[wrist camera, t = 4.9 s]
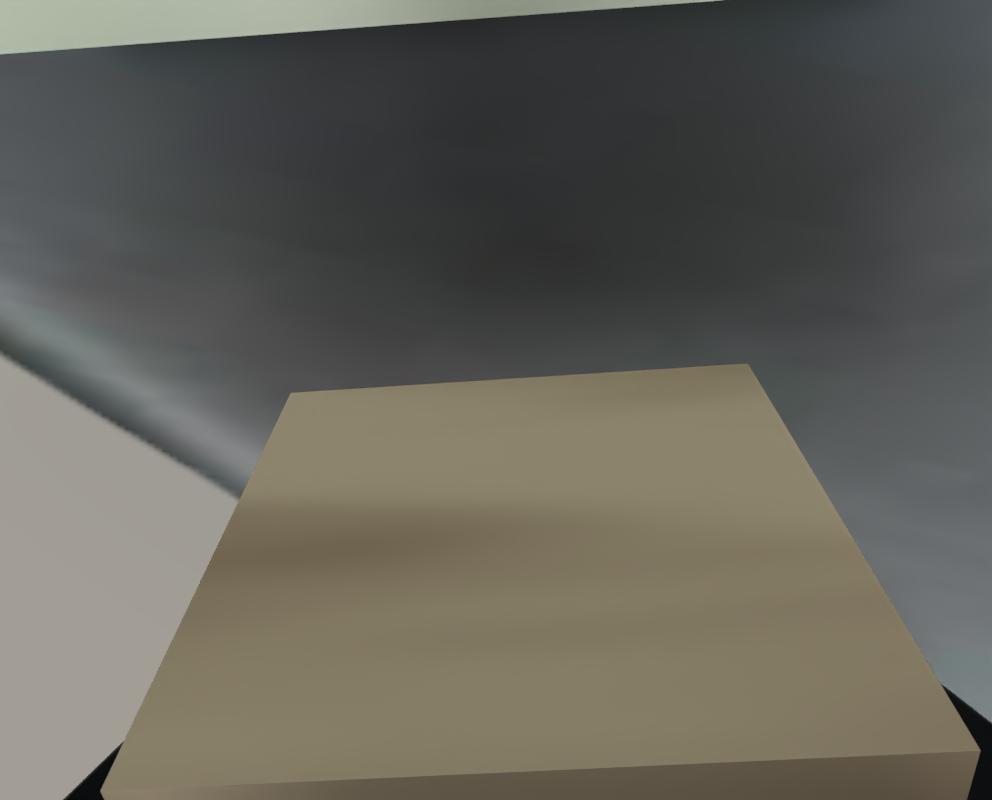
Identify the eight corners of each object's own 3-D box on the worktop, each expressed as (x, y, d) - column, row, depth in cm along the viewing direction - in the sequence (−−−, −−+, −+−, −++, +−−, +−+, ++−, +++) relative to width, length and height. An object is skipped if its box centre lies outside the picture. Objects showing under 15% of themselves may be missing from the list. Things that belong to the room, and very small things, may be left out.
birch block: (723, 695, 11) (864, 1162, 7) (359, 713, 12) (271, 1179, 7) (747, 363, 9) (980, 750, 5) (290, 393, 9) (99, 790, 5)
